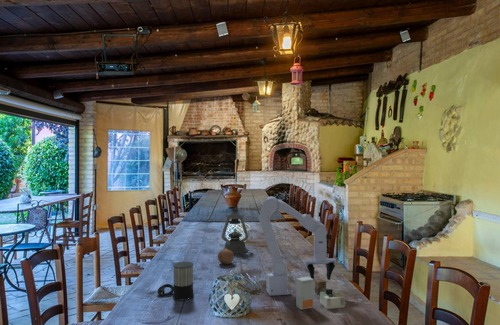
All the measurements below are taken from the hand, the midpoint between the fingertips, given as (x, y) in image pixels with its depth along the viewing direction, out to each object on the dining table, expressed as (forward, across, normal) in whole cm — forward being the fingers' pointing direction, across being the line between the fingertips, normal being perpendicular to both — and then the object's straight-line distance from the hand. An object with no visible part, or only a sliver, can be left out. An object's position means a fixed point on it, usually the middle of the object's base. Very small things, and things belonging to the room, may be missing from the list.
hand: (320, 279), depth 175 cm
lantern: (+6, -27, +88) cm, 92 cm away
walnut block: (+6, 0, 0) cm, 6 cm away
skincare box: (+6, -12, -14) cm, 20 cm away
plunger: (+5, 0, -8) cm, 10 cm away
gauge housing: (+6, 0, -14) cm, 15 cm away
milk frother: (+6, -65, +10) cm, 66 cm away
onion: (+6, -37, +56) cm, 67 cm away
